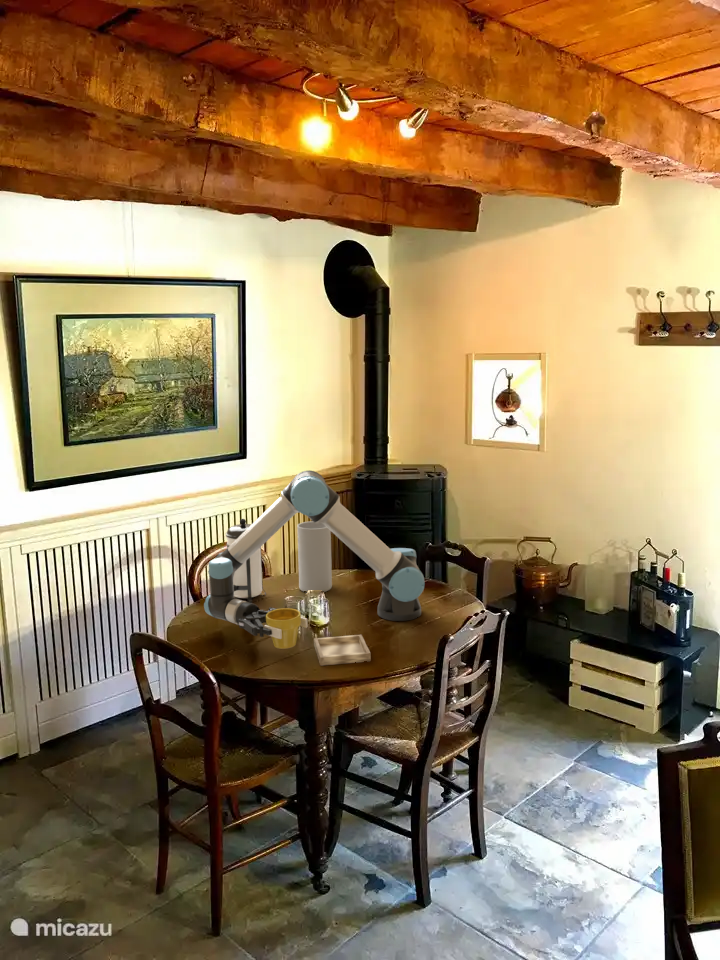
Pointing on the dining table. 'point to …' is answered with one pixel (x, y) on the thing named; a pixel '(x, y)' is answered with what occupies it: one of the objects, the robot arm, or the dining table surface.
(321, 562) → the cylinder vase
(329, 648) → the birch tray
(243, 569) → the coffee press
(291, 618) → the plant pot
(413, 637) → the dining table surface
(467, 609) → the dining table surface
